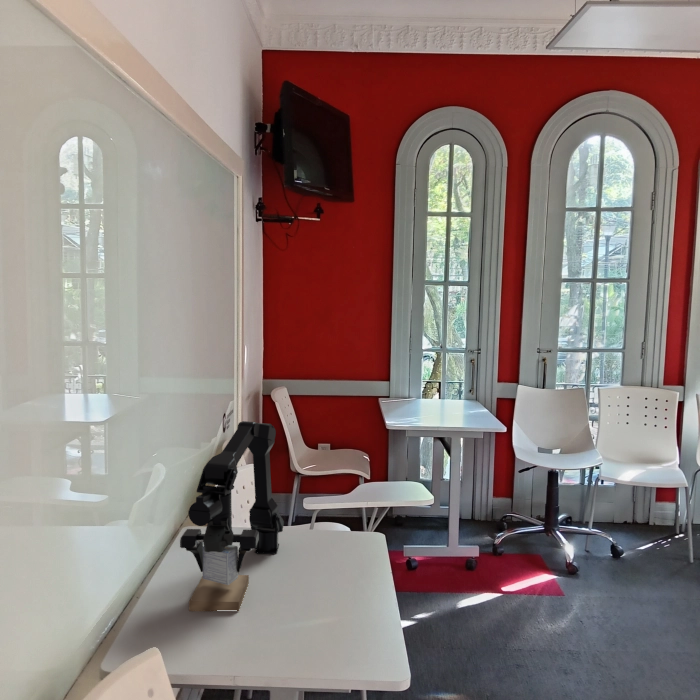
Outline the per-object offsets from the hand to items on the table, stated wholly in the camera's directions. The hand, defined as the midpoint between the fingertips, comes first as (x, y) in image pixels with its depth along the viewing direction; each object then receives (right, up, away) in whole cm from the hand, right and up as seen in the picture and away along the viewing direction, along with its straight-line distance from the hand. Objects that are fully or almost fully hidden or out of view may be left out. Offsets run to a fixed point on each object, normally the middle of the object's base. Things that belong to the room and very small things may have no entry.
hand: (220, 571), depth 152 cm
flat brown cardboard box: (0, -7, +1) cm, 7 cm away
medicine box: (0, -2, 0) cm, 2 cm away
